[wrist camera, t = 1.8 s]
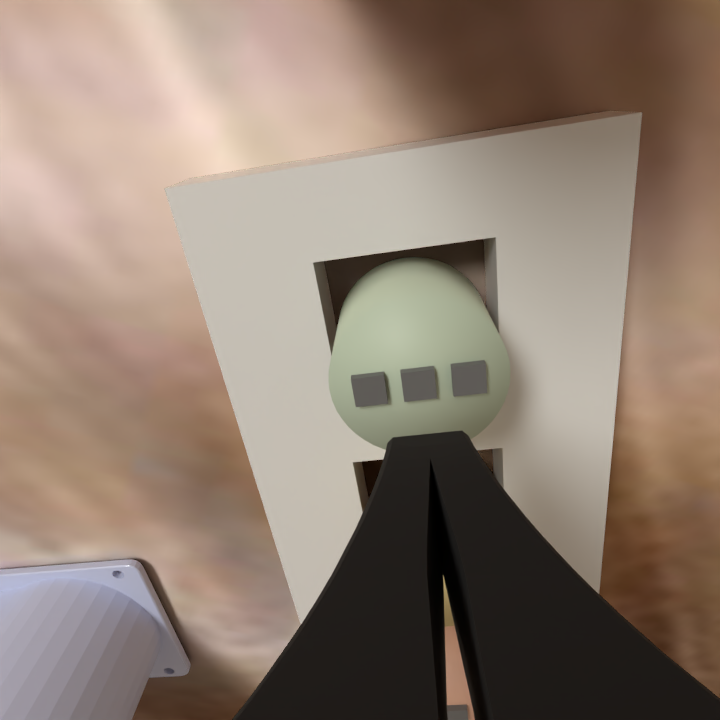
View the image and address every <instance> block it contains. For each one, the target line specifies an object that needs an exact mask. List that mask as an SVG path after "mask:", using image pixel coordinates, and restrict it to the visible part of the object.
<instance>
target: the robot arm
mask: <svg viewBox="0 0 720 720" xmlns="http://www.w3.org/2000/svg"><path fill="white" fill-rule="evenodd" d="M443 576H444V580H445V585H446V589H447V594H448V598H449V603H450V608H451V612H452V617H453V621H454V626H455V630H456V635H457V639H458V644H459V648H460V653H461V657H462V662H463V667H464V671H465V676H466V680H467V685H468V689H469V694H470V698H471V703H472V707H473V712H474V718H475V720H720V698H718V697H717V696H716V695H715V694H713V693H712V692H711V691H710V690H709V689H707V688H706V687H705V686H704V685H702V684H701V683H700V682H699V681H697V680H696V679H695V678H694V677H693V676H691V675H690V674H689V673H688V672H686V671H685V670H684V669H683V668H682V667H680V666H679V665H678V664H677V663H675V662H674V661H673V660H672V659H670V658H669V657H668V656H667V655H666V654H664V653H663V652H662V651H661V650H660V649H659V648H657V647H656V646H655V645H654V644H653V643H652V642H651V641H650V640H648V639H647V638H646V637H645V636H644V635H643V634H642V633H641V632H639V631H638V630H637V629H636V628H635V627H634V626H633V625H632V624H631V623H629V622H628V621H627V620H626V619H625V618H624V617H623V616H622V615H620V614H619V613H618V612H617V611H616V610H615V609H614V608H613V607H612V606H611V605H610V604H609V603H608V602H607V601H606V600H605V599H604V598H603V597H601V596H600V595H599V594H598V593H597V592H596V591H595V590H594V589H593V588H592V587H591V586H590V585H589V584H588V583H587V582H586V581H585V580H584V579H583V578H582V577H581V576H580V575H579V574H578V573H577V572H576V571H575V570H574V569H573V568H572V567H571V566H570V565H569V564H568V563H567V562H566V561H565V560H564V559H563V557H562V556H561V555H560V554H559V553H558V552H557V551H556V550H555V549H554V548H553V547H552V545H551V544H550V543H549V542H548V541H547V540H546V539H545V538H544V537H543V536H542V535H541V533H540V532H539V531H538V530H537V529H536V528H535V526H534V525H533V524H532V523H531V522H530V521H529V520H528V518H527V517H526V516H525V515H524V513H523V512H522V511H521V510H520V509H519V507H518V506H517V505H516V504H515V502H514V501H513V500H512V499H511V497H510V496H509V495H508V494H507V492H506V491H505V490H504V489H503V487H502V486H501V485H500V483H499V482H498V481H497V479H496V478H495V477H494V475H493V474H492V472H491V471H490V469H489V468H488V467H487V465H486V464H485V462H484V461H483V459H482V458H481V456H480V455H479V453H478V452H477V450H476V448H475V447H474V445H473V443H472V441H471V439H470V437H469V435H467V434H466V433H465V432H463V431H462V430H461V431H451V432H441V433H431V434H421V435H411V436H401V437H393V438H392V439H391V440H390V441H389V442H388V443H387V447H386V452H385V455H384V459H383V462H382V465H381V468H380V471H379V474H378V477H377V480H376V482H375V485H374V488H373V490H372V493H371V495H370V497H369V499H368V502H367V504H366V506H365V509H364V511H363V513H362V515H361V518H360V520H359V522H358V524H357V527H356V529H355V531H354V533H353V535H352V537H351V539H350V540H349V542H348V544H347V546H346V548H345V550H344V552H343V554H342V556H341V558H340V560H339V562H338V564H337V565H336V567H335V569H334V571H333V573H332V575H331V576H330V578H329V580H328V582H327V583H326V585H325V587H324V588H323V590H322V592H321V594H320V595H319V597H318V598H317V600H316V602H315V603H314V605H313V607H312V608H311V610H310V611H309V613H308V614H307V616H306V618H305V619H304V621H303V622H302V624H301V625H300V627H299V629H298V630H297V632H296V633H295V635H294V636H293V637H292V639H291V640H290V642H289V643H288V645H287V646H286V647H285V649H284V650H283V652H282V653H281V655H280V656H279V657H278V659H277V660H276V662H275V663H274V665H273V666H272V668H271V669H270V670H269V672H268V673H267V675H266V676H265V677H264V679H263V680H262V681H261V683H260V684H259V685H258V687H257V688H256V690H255V691H254V692H253V694H252V695H251V696H250V697H249V699H248V700H247V701H246V703H245V704H244V705H243V707H242V708H241V709H240V710H239V712H238V713H237V714H236V715H235V717H234V718H233V719H232V720H448V717H447V689H446V653H445V617H444V583H443ZM190 666H191V664H190V662H189V659H188V657H187V655H186V653H185V651H184V649H183V647H182V645H181V643H180V641H179V639H178V637H177V635H176V633H175V631H174V629H173V627H172V625H171V623H170V621H169V619H168V616H167V614H166V612H165V610H164V608H163V606H162V604H161V602H160V600H159V598H158V596H157V594H156V592H155V590H154V588H153V586H152V584H151V582H150V580H149V578H148V576H147V574H146V571H145V569H144V567H143V566H142V564H141V563H140V562H138V561H136V560H133V559H126V560H114V561H101V562H89V563H76V564H64V565H51V566H38V567H26V568H13V569H1V570H0V720H132V718H133V716H134V713H135V711H136V708H137V706H138V703H139V701H140V698H141V696H142V694H143V691H144V689H145V686H146V684H147V681H148V679H149V678H155V677H173V676H184V675H186V674H188V672H189V669H190Z"/></svg>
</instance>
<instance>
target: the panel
mask: <svg viewBox="0 0 720 720" xmlns="http://www.w3.org/2000/svg"><path fill="white" fill-rule="evenodd" d="M641 121H642V112H625V111H604V112H598V113H592V114H586V115H579V116H573V117H567V118H561V119H554V120H548V121H542V122H536V123H530V124H523V125H517V126H511V127H505V128H499V129H492V130H486V131H480V132H474V133H468V134H461V135H455V136H449V137H443V138H436V139H430V140H424V141H418V142H412V143H405V144H399V145H393V146H387V147H381V148H374V149H368V150H362V151H356V152H350V153H343V154H337V155H331V156H325V157H318V158H312V159H306V160H300V161H294V162H287V163H281V164H275V165H269V166H263V167H256V168H250V169H244V170H238V171H232V172H225V173H219V174H213V175H207V176H200V177H194V178H189V179H187V180H184V181H182V182H179V183H177V184H174V185H172V186H170V187H167V188H165V192H166V195H167V199H168V202H169V205H170V208H171V211H172V214H173V218H174V221H175V224H176V227H177V230H178V234H179V237H180V240H181V243H182V246H183V250H184V253H185V256H186V259H187V262H188V266H189V269H190V272H191V275H192V278H193V282H194V285H195V288H196V291H197V294H198V298H199V301H200V304H201V307H202V310H203V314H204V317H205V320H206V323H207V326H208V330H209V333H210V336H211V339H212V342H213V346H214V349H215V352H216V355H217V358H218V362H219V365H220V368H221V371H222V374H223V378H224V381H225V384H226V387H227V390H228V394H229V397H230V400H231V403H232V406H233V410H234V413H235V416H236V419H237V422H238V425H239V429H240V432H241V435H242V438H243V441H244V445H245V448H246V451H247V454H248V457H249V461H250V464H251V467H252V470H253V473H254V477H255V480H256V483H257V486H258V489H259V493H260V496H261V499H262V502H263V505H264V509H265V512H266V515H267V518H268V521H269V525H270V528H271V531H272V534H273V537H274V541H275V544H276V547H277V550H278V553H279V557H280V560H281V563H282V566H283V569H284V573H285V576H286V579H287V582H288V585H289V589H290V592H291V595H292V598H293V601H294V605H295V608H296V611H297V614H298V617H299V621H300V624H302V622H303V621H304V619H305V618H306V616H307V614H308V613H309V611H310V610H311V608H312V607H313V605H314V603H315V602H316V600H317V598H318V597H319V595H320V594H321V592H322V590H323V588H324V587H325V585H326V583H327V582H328V580H329V578H330V576H331V575H332V573H333V571H334V569H335V567H336V565H337V564H338V562H339V560H340V558H341V556H342V554H343V552H344V550H345V548H346V546H347V544H348V542H349V540H350V539H351V537H352V535H353V533H354V531H355V529H356V527H357V524H358V522H359V520H360V518H361V515H362V513H363V511H364V509H365V506H366V504H367V502H368V499H369V498H368V492H367V487H366V482H365V476H364V471H363V466H362V461H372V460H382V459H384V455H385V452H386V450H384V449H382V448H379V447H377V446H374V445H372V444H371V443H369V442H367V441H365V440H364V439H362V438H361V437H359V436H358V435H357V434H355V433H354V432H353V431H352V430H351V429H350V428H349V427H348V426H347V425H346V423H345V422H344V421H343V420H342V418H341V417H340V415H339V414H338V412H337V410H336V408H335V406H334V404H333V401H332V398H331V394H330V390H329V382H328V380H329V367H330V361H331V356H332V351H333V346H334V341H335V336H336V331H337V327H336V322H335V317H334V312H333V306H332V301H331V296H330V290H329V285H328V280H327V274H326V269H325V264H324V261H328V260H335V259H342V258H350V257H357V256H364V255H371V254H378V253H386V252H393V251H400V250H407V249H414V248H422V247H429V246H436V245H443V244H450V243H458V242H465V241H472V240H479V239H484V260H485V284H486V308H487V311H488V313H489V315H490V317H491V319H492V321H493V323H494V325H495V327H496V329H497V331H498V333H499V335H500V337H501V339H502V341H503V343H504V345H505V348H506V350H507V353H508V357H509V361H510V371H511V373H510V385H509V389H508V393H507V396H506V399H505V402H504V404H503V406H502V407H501V409H500V411H499V413H498V414H497V415H496V417H495V418H494V420H493V421H492V422H491V423H490V424H489V425H488V426H487V427H486V428H485V429H484V430H483V431H482V432H481V433H479V434H478V435H477V436H475V437H474V438H472V439H471V441H472V443H473V445H474V447H475V448H476V450H486V449H492V450H493V474H494V477H495V478H496V479H497V481H498V482H499V483H500V485H501V486H502V487H503V489H504V490H505V491H506V492H507V494H508V495H509V496H510V497H511V499H512V500H513V501H514V502H515V504H516V505H517V506H518V507H519V509H520V510H521V511H522V512H523V513H524V515H525V516H526V517H527V518H528V520H529V521H530V522H531V523H532V524H533V525H534V526H535V528H536V529H537V530H538V531H539V532H540V533H541V535H542V536H543V537H544V538H545V539H546V540H547V541H548V542H549V543H550V544H551V545H552V547H553V548H554V549H555V550H556V551H557V552H558V553H559V554H560V555H561V556H562V557H563V559H564V560H565V561H566V562H567V563H568V564H569V565H570V566H571V567H572V568H573V569H574V570H575V571H576V572H577V573H578V574H579V575H580V576H581V577H582V578H583V579H584V580H585V581H586V582H587V583H588V584H589V585H590V586H591V587H592V588H593V589H594V590H595V591H596V592H597V593H598V594H599V590H600V579H601V568H602V557H603V546H604V534H605V523H606V512H607V501H608V490H609V478H610V467H611V456H612V445H613V434H614V423H615V411H616V400H617V389H618V378H619V367H620V355H621V344H622V333H623V322H624V311H625V300H626V288H627V277H628V266H629V255H630V244H631V232H632V221H633V210H634V199H635V188H636V176H637V165H638V154H639V143H640V132H641Z"/></svg>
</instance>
